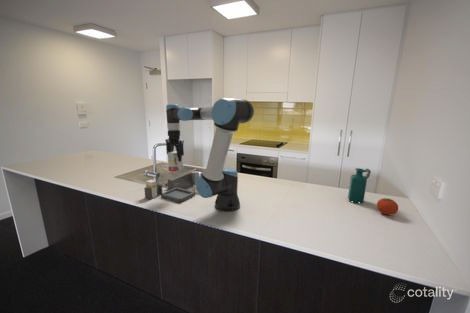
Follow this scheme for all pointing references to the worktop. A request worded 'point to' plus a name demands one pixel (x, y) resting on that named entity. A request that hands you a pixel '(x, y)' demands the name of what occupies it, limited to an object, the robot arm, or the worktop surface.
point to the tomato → (387, 206)
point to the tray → (178, 195)
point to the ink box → (174, 161)
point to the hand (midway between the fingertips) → (175, 165)
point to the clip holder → (155, 188)
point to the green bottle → (358, 185)
